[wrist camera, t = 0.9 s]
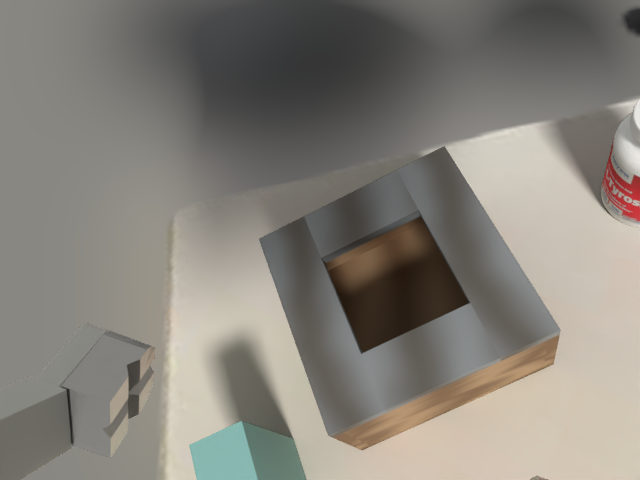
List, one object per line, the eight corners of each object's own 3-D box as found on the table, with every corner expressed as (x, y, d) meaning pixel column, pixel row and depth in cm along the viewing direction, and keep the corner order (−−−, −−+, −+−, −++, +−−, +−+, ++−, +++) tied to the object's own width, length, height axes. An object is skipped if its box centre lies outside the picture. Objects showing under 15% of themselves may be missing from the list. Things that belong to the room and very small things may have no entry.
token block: (293, 438, 46) (241, 420, 38) (309, 488, 44) (258, 481, 36) (250, 458, 46) (189, 445, 38) (264, 508, 44) (202, 506, 36)
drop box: (455, 202, 51) (444, 146, 43) (553, 364, 42) (560, 330, 35) (297, 280, 52) (259, 239, 45) (362, 450, 44) (328, 435, 36)
